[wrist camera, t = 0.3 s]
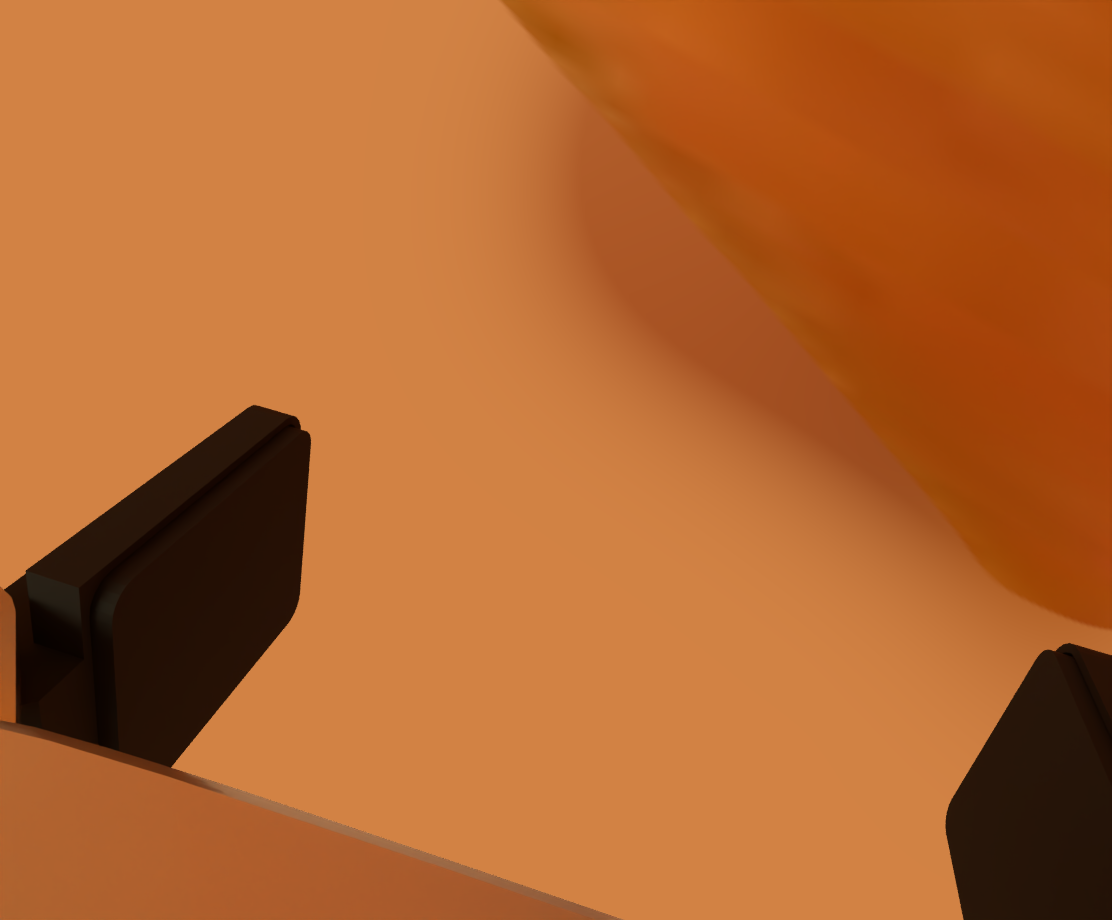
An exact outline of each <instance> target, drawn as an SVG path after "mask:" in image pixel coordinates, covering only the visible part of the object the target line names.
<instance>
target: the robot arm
mask: <svg viewBox="0 0 1112 920" xmlns="http://www.w3.org/2000/svg"><path fill="white" fill-rule="evenodd" d="M310 449H311V438H310V434H309V433H308V432H307V431H304V430H301V426H300V422H299V420H298V419H297V418H296V417H295V416H291V415H288V414H285V413H281V412H278V411H274V410H271V409H268V408H264V407H261V406H256V405H253V406H251V407H249V408H247V409H246V410H244V411H243V412H242V413H241V414H239V415H238V416H236V417H235V418H234V419H232V420H231V421H230V422H228V423H227V424H225V425H224V426H223V427H221V428H220V429H218V430H217V431H216V432H214V433H213V434H212V435H210V436H209V437H208V438H206V439H205V440H203V441H202V442H201V443H199V444H198V445H197V446H195V447H194V448H192V449H191V450H190V451H188V452H187V453H186V454H184V455H183V456H182V457H180V458H179V459H177V460H176V461H175V462H174V463H172V464H171V465H169V466H168V467H167V468H165V469H164V470H162V471H161V472H160V473H158V474H157V475H156V476H154V477H153V478H152V479H150V480H149V481H147V482H146V483H145V484H143V485H142V486H141V487H139V488H138V489H137V490H135V491H134V492H132V493H131V494H130V495H128V496H127V497H126V498H124V499H123V500H121V501H120V502H119V503H117V504H116V505H115V506H113V507H112V508H111V509H109V510H108V511H107V512H105V513H104V514H102V515H101V516H100V517H98V518H97V519H96V520H94V521H93V522H91V523H90V524H89V525H87V526H86V527H85V528H83V529H82V530H81V531H79V532H78V533H76V534H75V535H74V536H73V537H71V538H70V539H68V540H67V541H66V542H64V543H63V544H61V545H60V546H59V547H57V548H56V549H55V550H53V551H52V552H51V553H49V554H48V555H47V556H45V557H44V558H43V559H41V560H40V561H38V562H37V563H35V564H34V565H33V566H31V567H30V568H29V569H27V570H26V574H25V575H24V576H22V577H21V578H19V579H18V580H17V581H15V582H14V583H13V584H11V585H10V586H8V587H7V588H6V589H4V590H3V589H2V588H1V587H0V920H622V919H619V918H616V917H614V916H611V915H608V914H605V913H602V912H599V911H596V910H593V909H590V908H587V907H584V906H581V905H578V904H576V903H573V902H570V901H567V900H564V899H561V898H558V897H555V896H552V895H549V894H546V893H543V892H540V891H538V890H535V889H532V888H529V887H526V886H523V885H520V884H517V883H514V882H511V881H508V880H505V879H502V878H500V877H497V876H494V875H491V874H487V873H485V872H482V871H479V870H476V869H473V868H470V867H467V866H464V865H461V864H459V863H455V862H453V861H450V860H447V859H444V858H440V857H437V856H435V855H432V854H429V853H426V852H423V851H420V850H417V849H414V848H411V847H408V846H405V845H402V844H399V843H396V842H393V841H390V840H387V839H384V838H381V837H378V836H375V835H372V834H369V833H366V832H363V831H360V830H357V829H355V828H352V827H349V826H346V825H342V824H340V823H337V822H333V821H331V820H328V819H325V818H322V817H319V816H316V815H313V814H310V813H307V812H304V811H301V810H298V809H295V808H292V807H289V806H286V805H283V804H280V803H277V802H274V801H271V800H268V799H265V798H262V797H259V796H256V795H253V794H250V793H247V792H244V791H241V790H238V789H235V788H232V787H229V786H226V785H223V784H220V783H217V782H214V781H211V780H207V779H204V778H201V777H198V776H195V775H192V774H188V773H186V772H182V771H179V770H176V769H173V768H171V767H172V765H173V764H174V763H175V762H176V760H177V759H178V758H179V757H180V756H181V754H182V753H183V752H184V751H185V749H186V748H187V747H188V746H189V745H190V743H191V742H192V741H193V739H194V738H195V737H196V736H197V735H198V733H199V732H200V731H201V730H202V729H203V727H204V726H205V725H206V724H207V722H208V721H209V720H210V719H211V718H212V716H213V715H214V714H215V713H216V711H217V710H218V709H219V708H220V706H221V705H222V704H223V703H224V701H225V700H226V699H227V698H228V696H229V695H230V694H231V693H232V691H233V690H234V689H235V688H236V687H237V685H238V684H239V683H240V682H241V681H242V679H243V678H244V677H245V676H246V674H247V673H248V672H249V671H250V670H251V668H252V667H253V666H254V665H255V663H256V662H257V661H258V660H259V659H260V657H261V656H262V655H263V654H264V652H265V651H266V650H267V649H268V647H269V646H270V645H271V644H272V642H273V641H274V640H275V639H276V638H277V636H278V635H279V634H280V633H281V632H282V630H283V629H284V628H285V626H286V625H287V624H288V623H289V621H290V620H291V618H292V616H293V614H294V613H295V610H296V607H297V604H298V601H299V595H300V584H301V583H300V582H301V570H302V556H303V544H304V543H303V542H304V530H305V516H306V503H307V489H308V476H309V475H308V474H309V461H310ZM946 835H947V840H948V845H949V849H950V855H951V859H952V865H953V870H954V875H955V879H956V884H957V889H958V894H959V899H960V904H961V909H962V914H963V919H964V920H1112V655H1108V654H1105V653H1101V652H1098V651H1095V650H1091V649H1088V648H1084V647H1081V646H1078V645H1074V644H1071V643H1068V644H1063V645H1062V646H1061V647H1059V648H1058V649H1057V650H1056V651H1052V650H1045V651H1043V652H1042V653H1041V654H1040V655H1039V656H1038V657H1037V659H1036V660H1035V662H1034V664H1033V665H1032V667H1031V669H1030V670H1029V672H1028V674H1027V675H1026V677H1025V679H1024V681H1023V682H1022V684H1021V685H1020V687H1019V688H1018V690H1017V692H1016V693H1015V695H1014V697H1013V699H1012V700H1011V702H1010V703H1009V705H1008V707H1007V708H1006V710H1005V712H1004V713H1003V715H1002V717H1001V718H1000V720H999V722H998V723H997V725H996V727H995V728H994V730H993V732H992V733H991V735H990V737H989V738H988V740H987V742H986V743H985V745H984V747H983V748H982V750H981V752H980V753H979V755H978V757H977V758H976V760H975V762H974V763H973V765H972V767H971V768H970V770H969V772H968V773H967V775H966V776H965V778H964V780H963V781H962V783H961V785H960V786H959V788H958V790H957V791H956V793H955V795H954V796H953V798H952V800H951V802H950V804H949V807H948V811H947V815H946Z"/></svg>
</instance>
